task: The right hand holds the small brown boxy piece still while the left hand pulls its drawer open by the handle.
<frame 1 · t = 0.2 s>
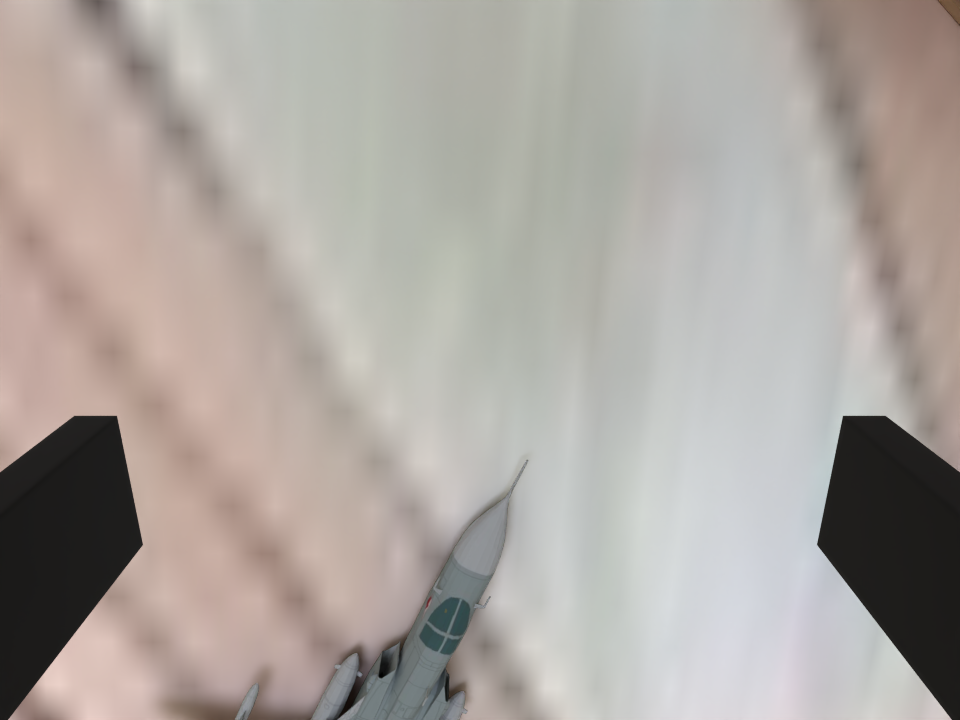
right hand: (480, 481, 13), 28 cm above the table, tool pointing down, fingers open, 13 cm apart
airplane: (365, 710, 51), on the table
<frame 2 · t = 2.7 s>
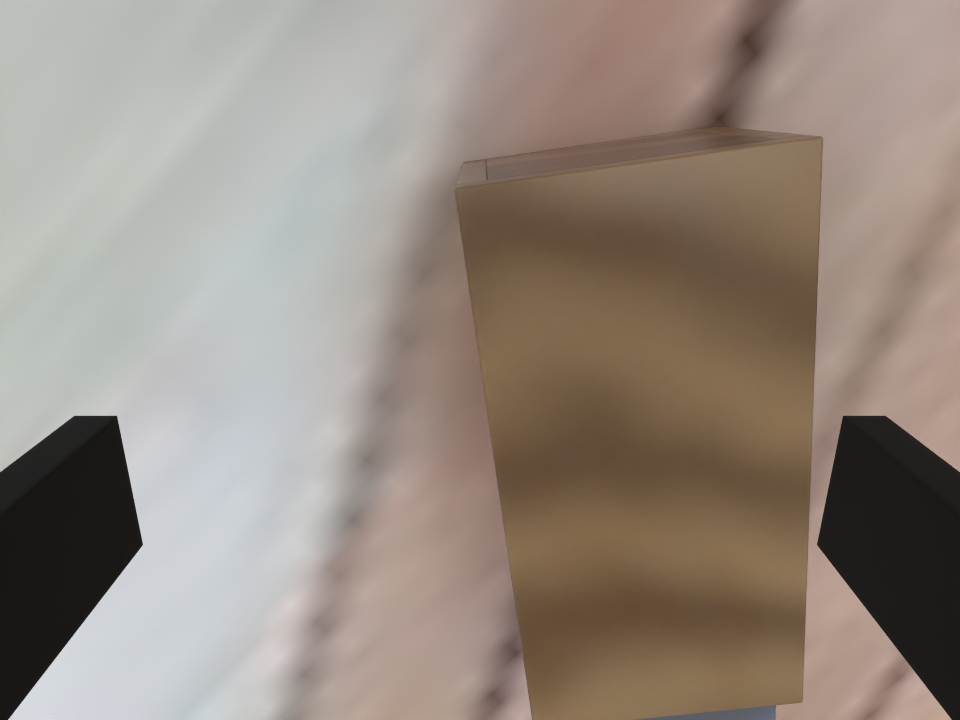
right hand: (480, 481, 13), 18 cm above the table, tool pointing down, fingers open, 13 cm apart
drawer: (634, 539, 29), point 5 cm above the table, slide at 0.8 cm
brown boxy piece: (606, 379, 31), on the table
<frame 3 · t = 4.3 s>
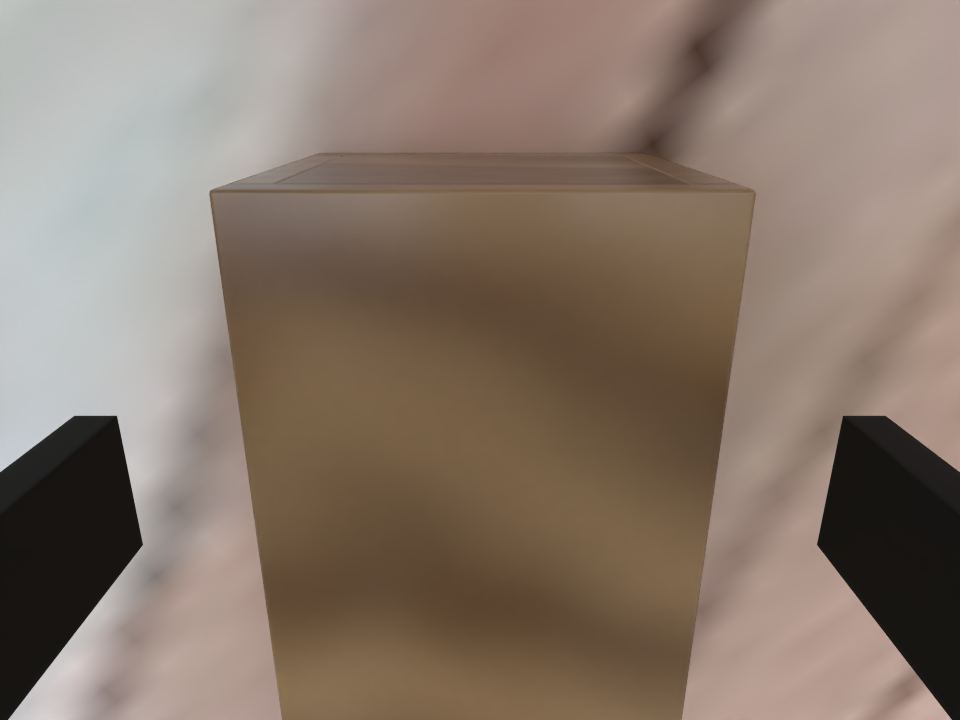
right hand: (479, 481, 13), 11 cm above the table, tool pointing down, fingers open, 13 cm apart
brown boxy piece: (482, 447, 25), on the table
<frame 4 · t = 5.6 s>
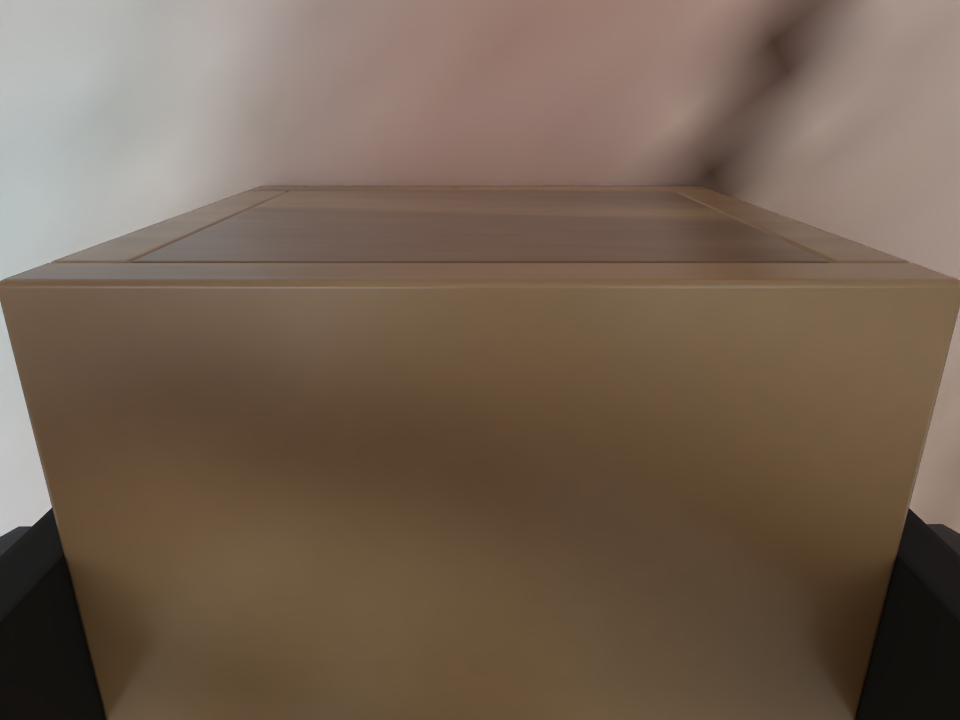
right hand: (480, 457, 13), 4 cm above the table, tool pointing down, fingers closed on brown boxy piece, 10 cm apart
brown boxy piece: (480, 560, 19), on the table, touching right hand
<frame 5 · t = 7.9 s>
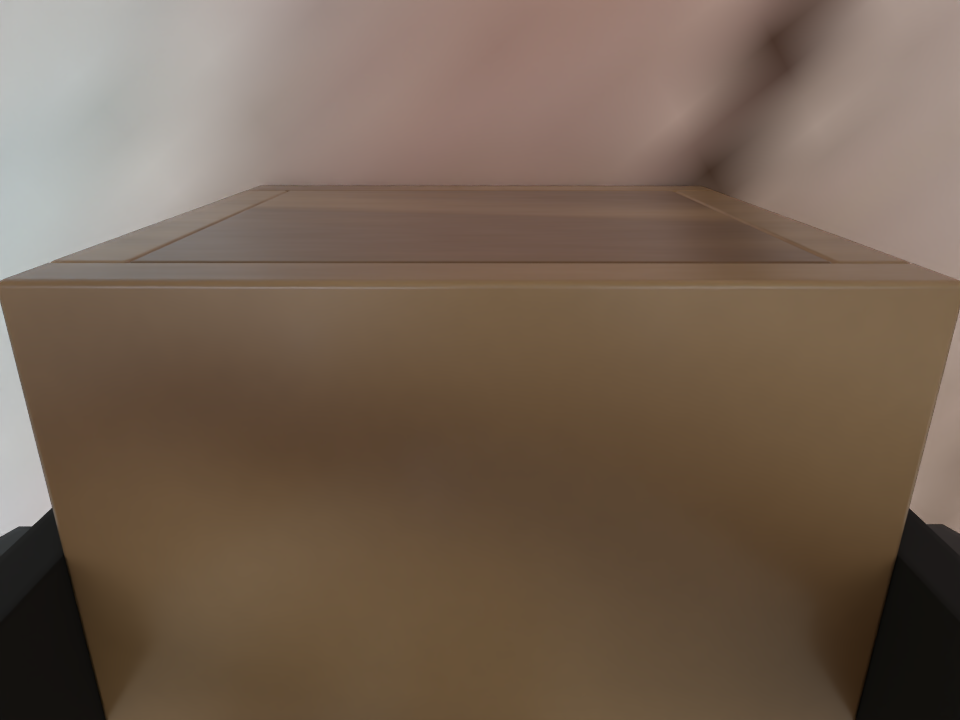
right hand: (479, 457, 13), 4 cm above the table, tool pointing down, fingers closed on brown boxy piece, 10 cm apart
brown boxy piece: (480, 559, 19), on the table, touching right hand
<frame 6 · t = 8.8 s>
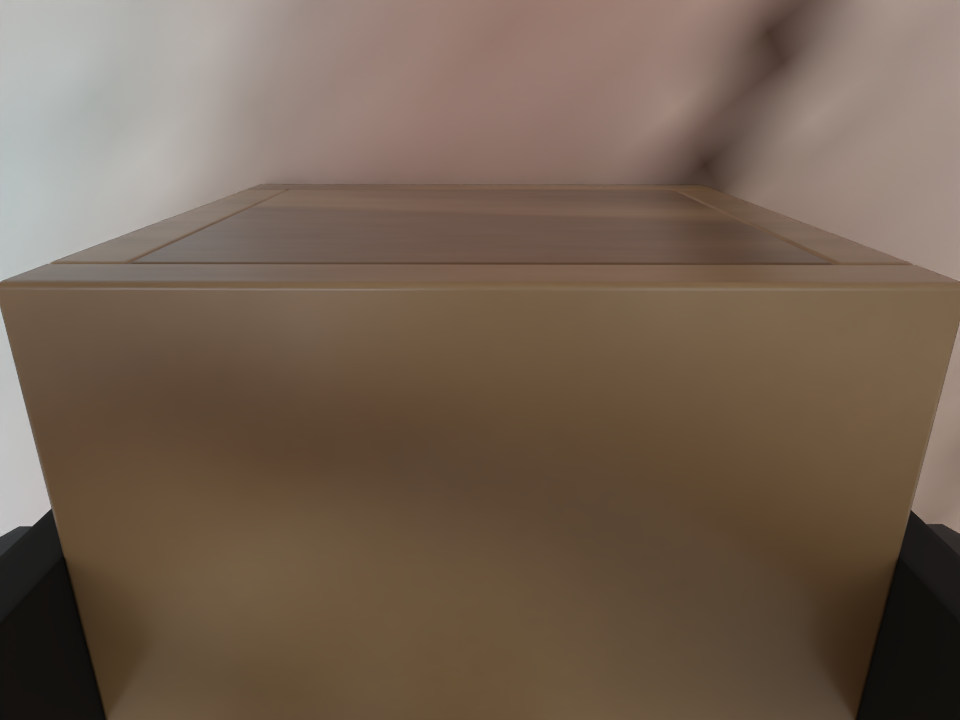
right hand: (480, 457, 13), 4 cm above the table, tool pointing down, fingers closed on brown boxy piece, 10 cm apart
brown boxy piece: (480, 558, 19), on the table, touching right hand
when the right hand's fingers open (4 cm above the table, at t = 10.4 s): brown boxy piece stays where it is, on the table.
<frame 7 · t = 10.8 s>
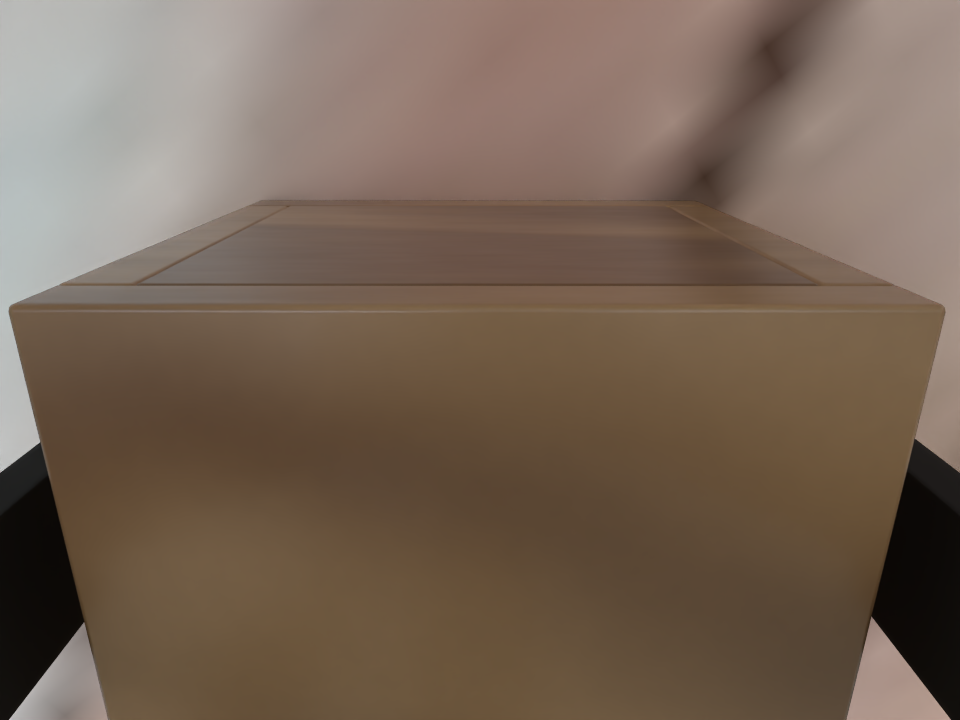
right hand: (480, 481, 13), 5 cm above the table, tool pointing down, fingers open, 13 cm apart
brown boxy piece: (478, 568, 19), on the table
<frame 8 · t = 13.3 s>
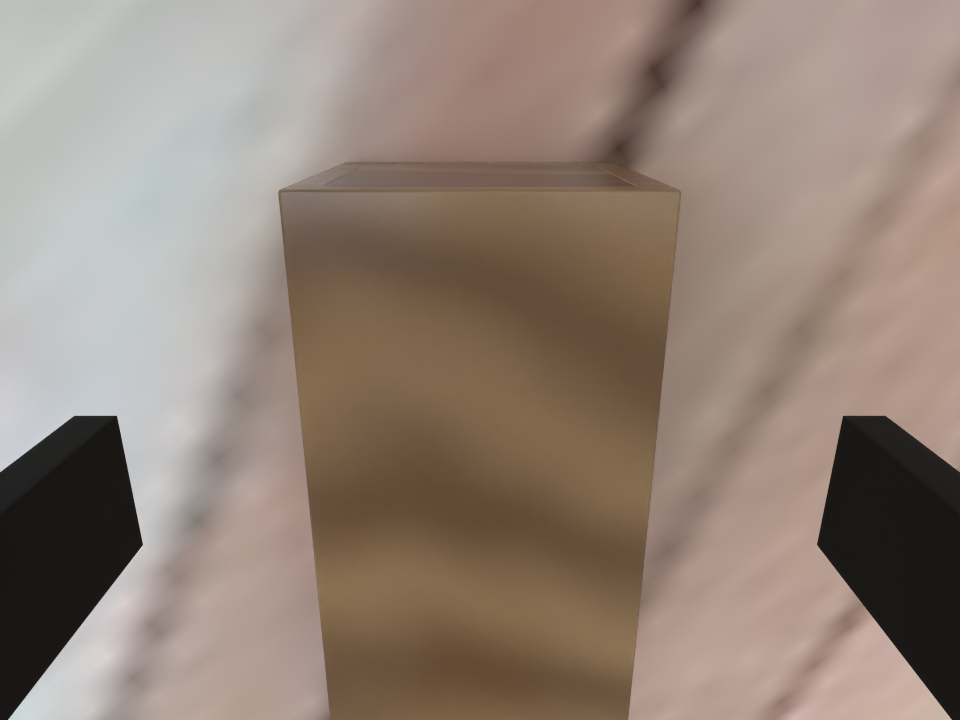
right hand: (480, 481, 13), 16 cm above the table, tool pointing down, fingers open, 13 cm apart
brown boxy piece: (479, 410, 29), on the table
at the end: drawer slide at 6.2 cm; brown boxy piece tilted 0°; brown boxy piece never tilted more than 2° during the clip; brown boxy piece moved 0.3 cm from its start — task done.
